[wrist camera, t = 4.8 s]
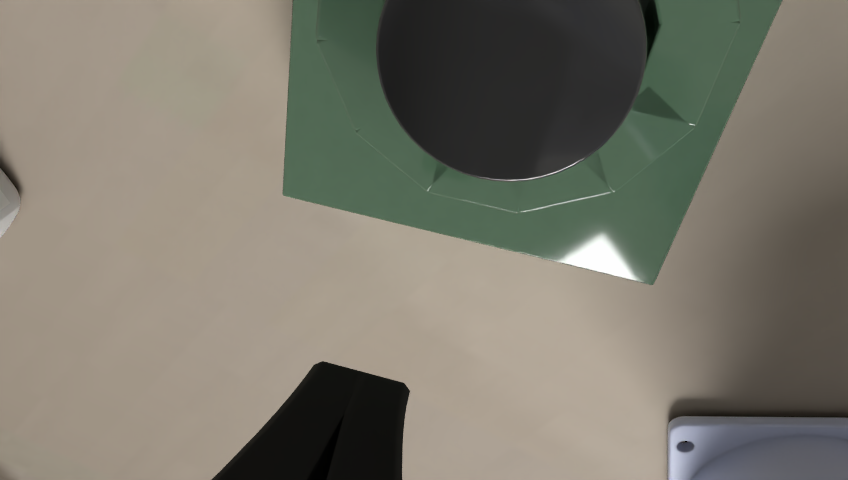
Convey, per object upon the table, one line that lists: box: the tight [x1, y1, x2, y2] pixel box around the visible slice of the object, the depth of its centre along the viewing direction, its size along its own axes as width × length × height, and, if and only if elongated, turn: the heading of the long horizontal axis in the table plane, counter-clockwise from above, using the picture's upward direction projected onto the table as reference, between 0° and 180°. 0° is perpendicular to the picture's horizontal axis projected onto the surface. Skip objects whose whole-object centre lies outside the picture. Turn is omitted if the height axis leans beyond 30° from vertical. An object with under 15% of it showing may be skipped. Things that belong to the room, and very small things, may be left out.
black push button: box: [376, 0, 647, 182], centre depth 11 cm, size 4×4×2 cm
